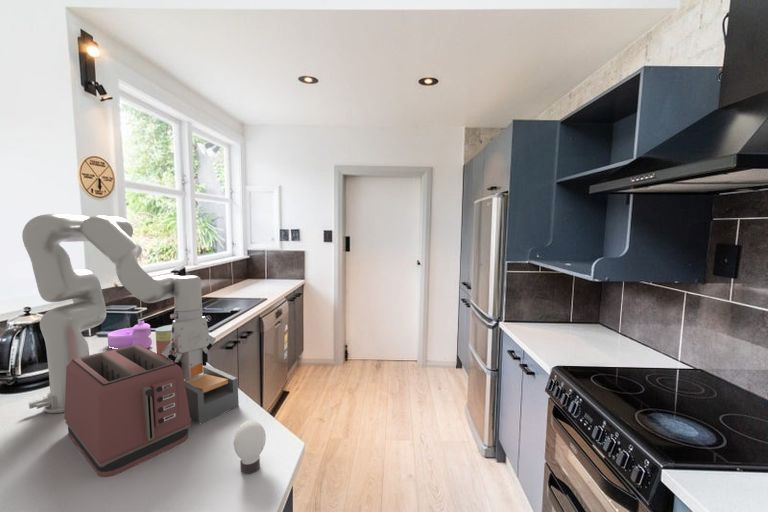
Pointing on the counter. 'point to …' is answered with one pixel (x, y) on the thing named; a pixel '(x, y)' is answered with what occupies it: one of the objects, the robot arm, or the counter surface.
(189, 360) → the skincare box
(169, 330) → the canned food
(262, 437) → the light bulb
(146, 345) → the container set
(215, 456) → the counter surface
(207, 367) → the grey open box
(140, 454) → the toaster
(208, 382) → the rocker switch
